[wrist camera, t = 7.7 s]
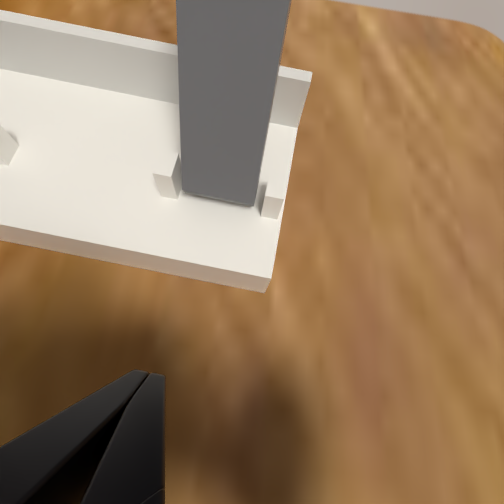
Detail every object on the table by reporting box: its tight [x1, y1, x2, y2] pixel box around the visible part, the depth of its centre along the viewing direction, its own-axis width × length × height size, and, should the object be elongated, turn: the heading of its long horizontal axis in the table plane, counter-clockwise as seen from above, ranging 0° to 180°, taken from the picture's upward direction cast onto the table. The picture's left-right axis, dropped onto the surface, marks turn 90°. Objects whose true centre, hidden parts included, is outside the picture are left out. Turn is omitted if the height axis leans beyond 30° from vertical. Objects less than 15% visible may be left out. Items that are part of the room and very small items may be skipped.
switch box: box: [0, 10, 312, 293], centre depth 16 cm, size 9×19×6 cm, turn 79°
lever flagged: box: [176, 0, 291, 206], centre depth 12 cm, size 2×4×10 cm, turn 80°
